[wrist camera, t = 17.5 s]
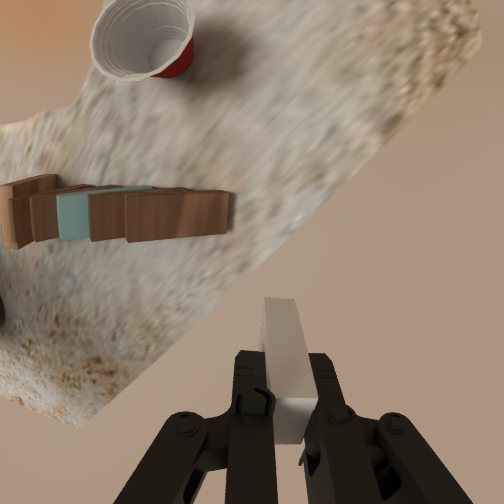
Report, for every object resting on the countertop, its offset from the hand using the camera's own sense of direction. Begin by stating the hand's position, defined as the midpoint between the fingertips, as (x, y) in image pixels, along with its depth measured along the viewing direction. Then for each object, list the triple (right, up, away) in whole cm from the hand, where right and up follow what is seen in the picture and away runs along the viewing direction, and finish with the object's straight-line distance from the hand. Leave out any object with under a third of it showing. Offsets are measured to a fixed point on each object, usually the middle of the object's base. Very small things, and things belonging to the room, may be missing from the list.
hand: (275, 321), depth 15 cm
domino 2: (-19, +10, +22) cm, 31 cm away
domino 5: (-5, +8, +22) cm, 24 cm away
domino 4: (-10, +9, +22) cm, 26 cm away
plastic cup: (-12, +28, +16) cm, 34 cm away
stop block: (-31, +11, +22) cm, 40 cm away
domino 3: (-14, +9, +22) cm, 28 cm away
